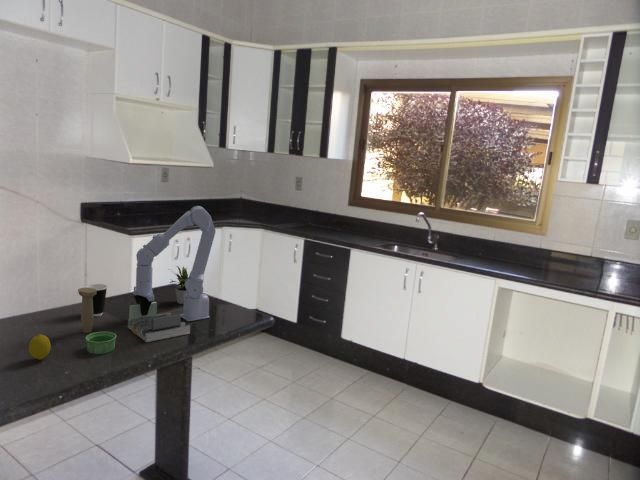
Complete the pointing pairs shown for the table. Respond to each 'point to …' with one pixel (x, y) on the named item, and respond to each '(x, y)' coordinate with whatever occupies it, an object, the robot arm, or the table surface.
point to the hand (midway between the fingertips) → (143, 314)
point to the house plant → (181, 285)
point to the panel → (136, 311)
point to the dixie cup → (98, 298)
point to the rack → (158, 327)
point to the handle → (87, 308)
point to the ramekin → (100, 342)
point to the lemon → (39, 346)
